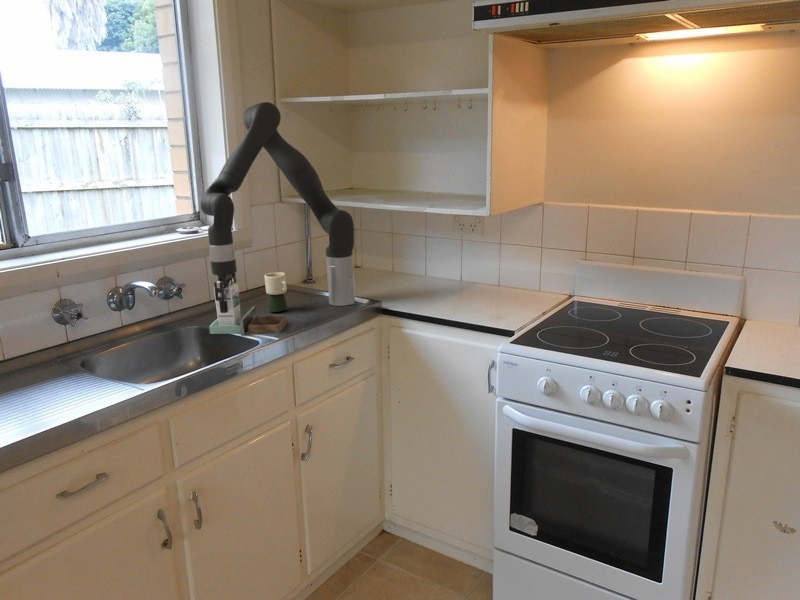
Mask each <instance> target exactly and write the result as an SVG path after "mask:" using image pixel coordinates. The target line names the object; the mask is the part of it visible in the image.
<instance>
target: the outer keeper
mask: <svg viewBox="0 0 800 600" xmlns="http://www.w3.org/2000/svg"><path fill="white" fill-rule="evenodd" d="M243 316H244V315H242V317H243ZM208 328H209V334H210V335H221V334H222V335H223V334H225V335H227V334H229V335H232V334H234V335H235V334H241V330H240V325H227V326H219V324H218V318H216V319H215V320H214V321H213V322H212V323H211V324H210V325H209V327H208Z"/></svg>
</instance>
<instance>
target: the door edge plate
mask: <svg viewBox="0 0 800 600" xmlns="http://www.w3.org/2000/svg"><path fill="white" fill-rule="evenodd" d="M242 316H243V317H242V318H241V319H240V320H239V321H240V330H241V333H240V336H241V337H245V336H246V334H248V324H249V323H250V322H251V321H252V320H253V319H254V318H255V317H256V316H258V315H257V307H256V306H255V305H254V306H252V307H250V309H248V311H247V312H246V313H245V314H244V315H242Z"/></svg>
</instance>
